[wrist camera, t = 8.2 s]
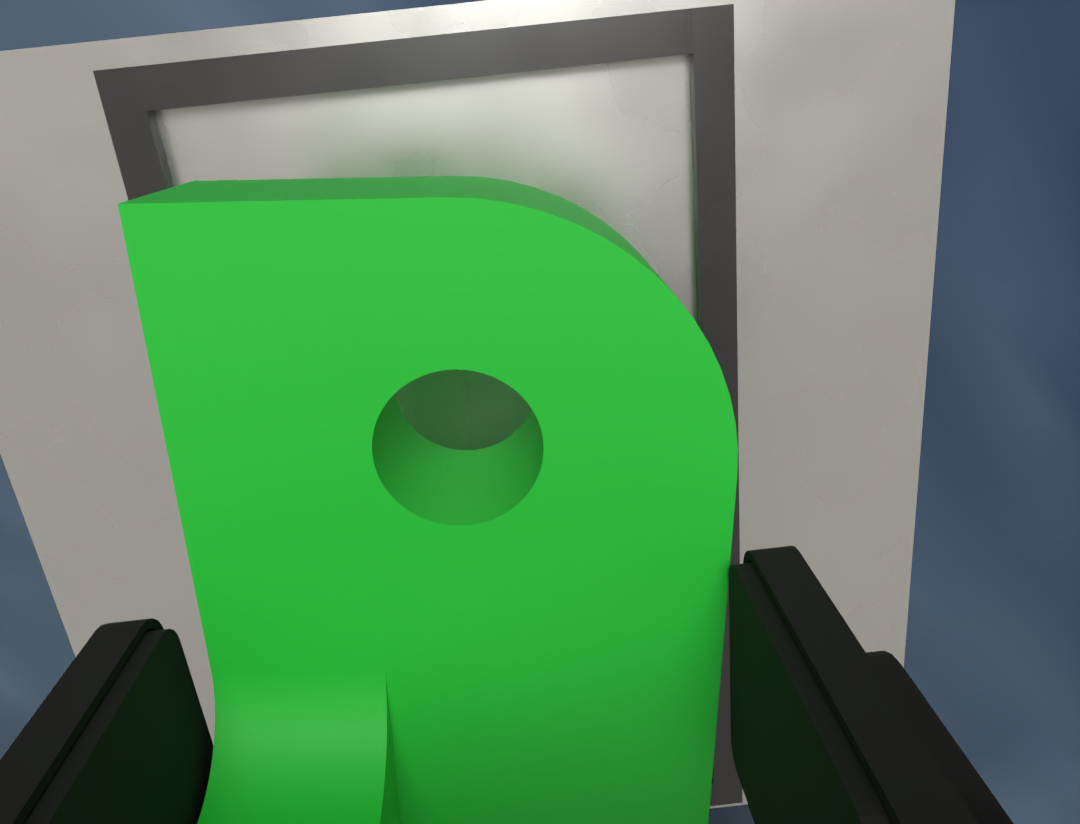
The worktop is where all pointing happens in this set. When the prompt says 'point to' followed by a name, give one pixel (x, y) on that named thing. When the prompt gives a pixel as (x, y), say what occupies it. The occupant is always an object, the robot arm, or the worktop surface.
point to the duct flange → (527, 158)
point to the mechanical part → (439, 503)
